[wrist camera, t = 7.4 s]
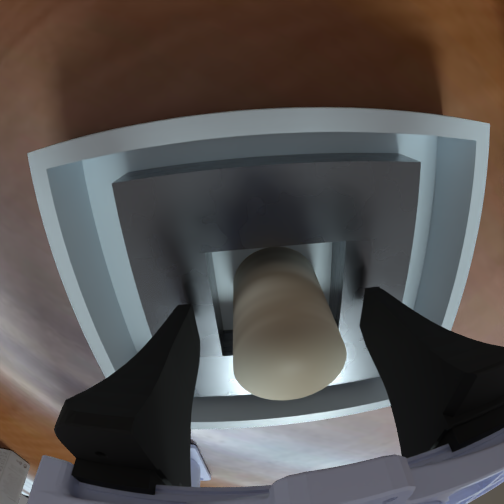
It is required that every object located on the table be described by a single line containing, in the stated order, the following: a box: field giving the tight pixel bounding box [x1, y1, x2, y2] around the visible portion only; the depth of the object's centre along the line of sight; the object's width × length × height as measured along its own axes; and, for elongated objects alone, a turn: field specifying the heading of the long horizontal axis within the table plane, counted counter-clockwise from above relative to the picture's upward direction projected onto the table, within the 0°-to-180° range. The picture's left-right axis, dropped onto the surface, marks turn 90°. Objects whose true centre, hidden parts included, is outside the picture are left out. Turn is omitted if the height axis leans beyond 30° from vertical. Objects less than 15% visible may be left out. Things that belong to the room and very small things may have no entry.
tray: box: [27, 107, 490, 429], centre depth 14 cm, size 18×16×4 cm
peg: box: [233, 247, 347, 400], centre depth 13 cm, size 4×4×6 cm
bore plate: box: [112, 153, 421, 397], centre depth 14 cm, size 12×12×2 cm
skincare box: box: [0, 448, 30, 504], centre depth 24 cm, size 6×4×12 cm
